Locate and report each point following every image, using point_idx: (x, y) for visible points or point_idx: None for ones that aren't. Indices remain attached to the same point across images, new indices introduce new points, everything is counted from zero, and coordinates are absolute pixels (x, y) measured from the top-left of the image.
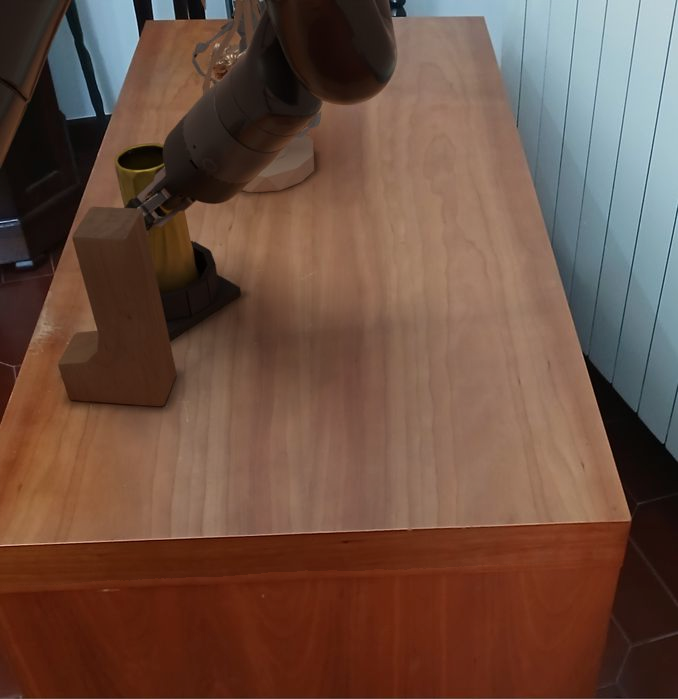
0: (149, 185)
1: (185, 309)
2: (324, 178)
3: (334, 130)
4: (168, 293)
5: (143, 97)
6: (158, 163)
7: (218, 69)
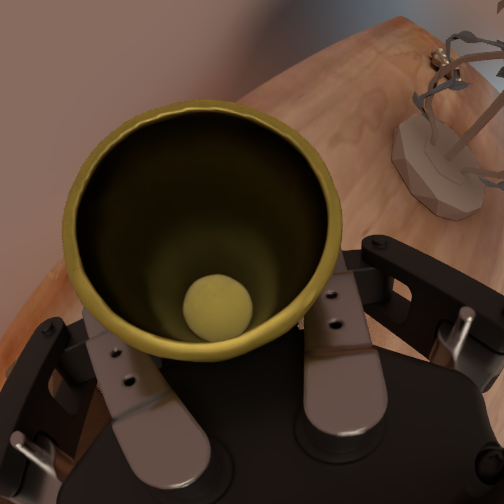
0: (104, 392)
1: None
2: (472, 233)
3: (493, 180)
4: None
5: (373, 40)
6: (285, 196)
7: (434, 62)
